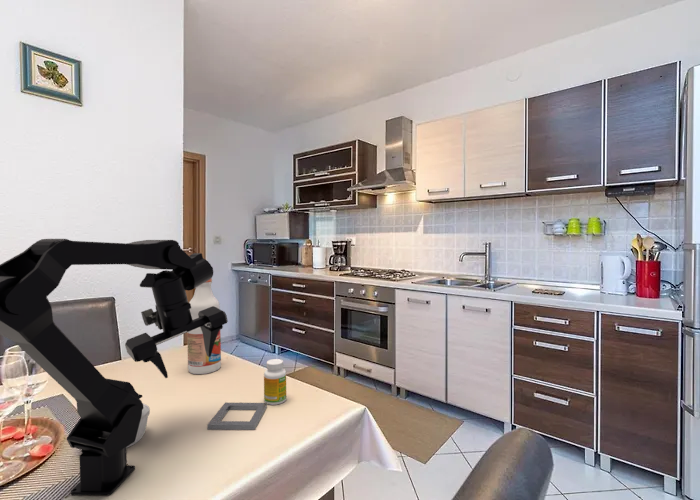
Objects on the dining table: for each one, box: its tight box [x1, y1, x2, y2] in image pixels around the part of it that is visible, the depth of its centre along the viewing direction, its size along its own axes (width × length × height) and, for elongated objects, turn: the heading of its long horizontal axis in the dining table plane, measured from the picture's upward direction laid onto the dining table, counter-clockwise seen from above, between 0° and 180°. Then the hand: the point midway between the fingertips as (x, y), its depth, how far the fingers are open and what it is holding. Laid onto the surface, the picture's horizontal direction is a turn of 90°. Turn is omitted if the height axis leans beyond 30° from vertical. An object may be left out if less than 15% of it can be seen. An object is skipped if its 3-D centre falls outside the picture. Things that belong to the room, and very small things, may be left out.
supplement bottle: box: [263, 358, 287, 406], centre depth 87 cm, size 5×5×10 cm
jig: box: [206, 402, 268, 431], centre depth 79 cm, size 10×10×1 cm
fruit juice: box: [186, 277, 222, 375], centre depth 108 cm, size 9×9×28 cm
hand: (188, 366), depth 76 cm, fingers open, 9 cm apart
